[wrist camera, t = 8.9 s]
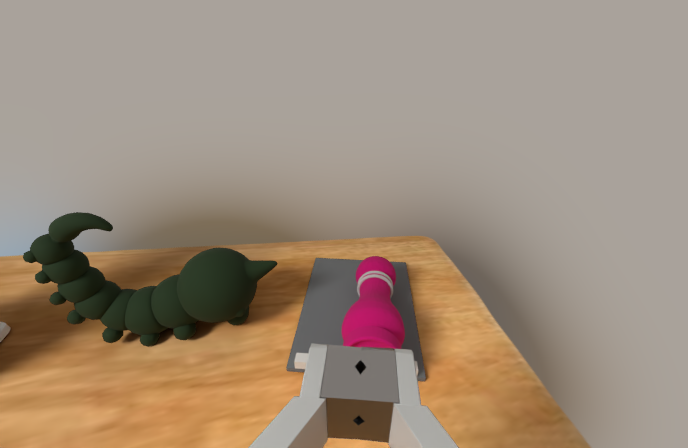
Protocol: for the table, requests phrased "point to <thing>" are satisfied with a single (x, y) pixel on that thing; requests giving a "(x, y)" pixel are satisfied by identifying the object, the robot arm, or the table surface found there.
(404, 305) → the grey rectangular board
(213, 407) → the table surface
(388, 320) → the magenta bowling pin
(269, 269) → the toy figurine
